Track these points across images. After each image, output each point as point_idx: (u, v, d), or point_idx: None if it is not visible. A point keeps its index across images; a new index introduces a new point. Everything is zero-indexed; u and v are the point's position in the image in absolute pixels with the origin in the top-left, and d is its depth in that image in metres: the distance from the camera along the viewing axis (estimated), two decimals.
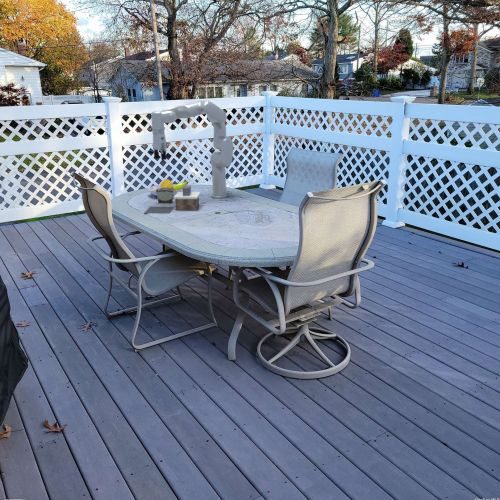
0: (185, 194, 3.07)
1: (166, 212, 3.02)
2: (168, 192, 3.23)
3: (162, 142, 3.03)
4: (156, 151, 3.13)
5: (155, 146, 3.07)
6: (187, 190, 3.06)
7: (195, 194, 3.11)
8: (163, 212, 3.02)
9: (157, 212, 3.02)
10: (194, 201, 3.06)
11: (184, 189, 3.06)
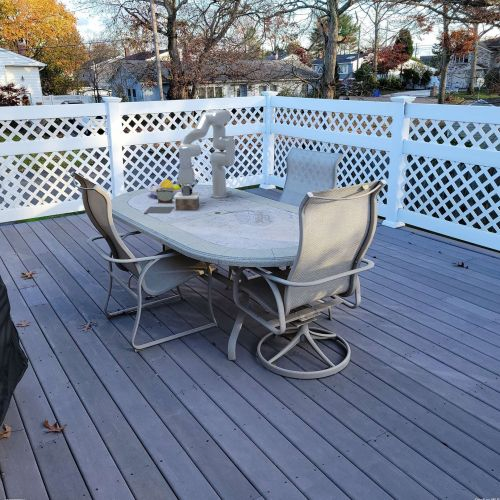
0: (185, 194, 3.07)
1: (166, 212, 3.02)
2: (168, 192, 3.23)
3: (194, 177, 3.07)
4: None
5: (184, 181, 3.06)
6: (187, 190, 3.06)
7: (195, 194, 3.11)
8: (163, 212, 3.02)
9: (157, 212, 3.02)
10: (194, 201, 3.06)
11: (184, 189, 3.06)
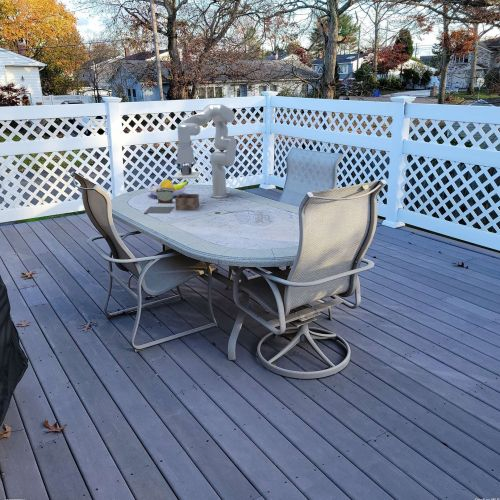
0: (185, 174, 3.03)
1: (166, 212, 3.02)
2: (168, 192, 3.23)
3: (193, 156, 3.03)
4: (182, 166, 3.06)
5: (183, 160, 3.02)
6: (186, 169, 3.02)
7: (194, 174, 3.07)
8: (163, 212, 3.02)
9: (157, 212, 3.02)
10: (194, 201, 3.06)
11: (183, 168, 3.02)
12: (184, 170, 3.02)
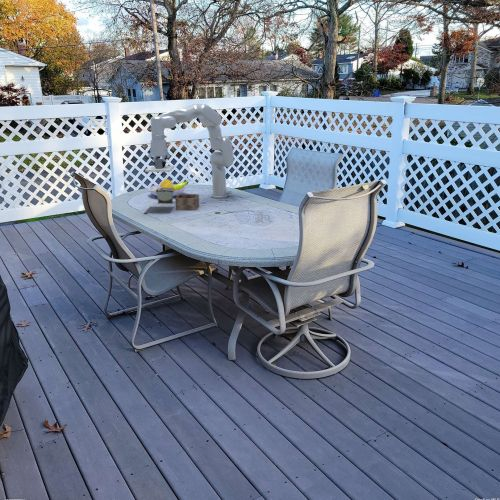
0: (158, 167, 2.96)
1: (166, 212, 3.02)
2: (168, 192, 3.23)
3: (166, 149, 2.96)
4: None
5: (156, 153, 2.95)
6: (160, 163, 2.95)
7: (168, 167, 3.00)
8: (163, 212, 3.02)
9: (157, 212, 3.02)
10: (194, 201, 3.06)
11: (156, 162, 2.95)
12: (157, 163, 2.95)
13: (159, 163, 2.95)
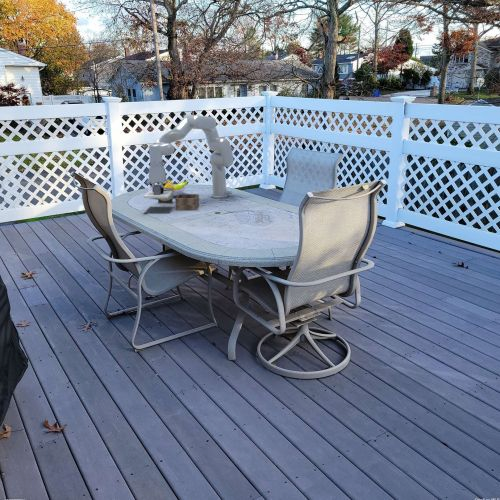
0: (156, 193, 3.01)
1: (166, 212, 3.02)
2: None
3: (165, 175, 3.01)
4: None
5: (154, 179, 3.00)
6: (158, 189, 3.00)
7: (166, 193, 3.05)
8: (163, 212, 3.02)
9: (157, 212, 3.02)
10: (194, 201, 3.06)
11: (155, 188, 3.00)
12: (155, 189, 3.00)
13: (157, 189, 3.00)
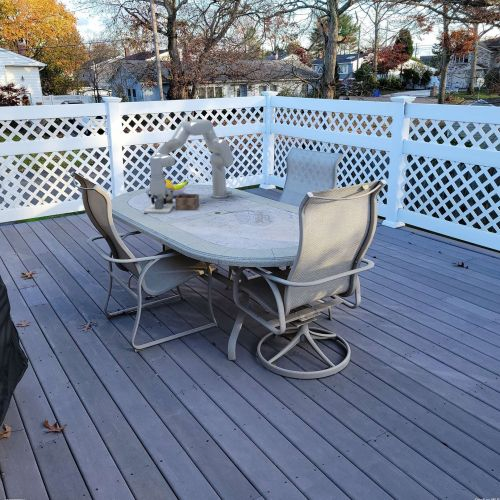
0: (157, 208, 3.04)
1: None
2: None
3: (165, 186, 3.03)
4: (153, 197, 3.06)
5: (155, 191, 3.02)
6: (159, 204, 3.03)
7: (168, 207, 3.08)
8: None
9: None
10: (194, 201, 3.06)
11: (156, 203, 3.03)
12: (157, 204, 3.03)
13: (158, 204, 3.03)
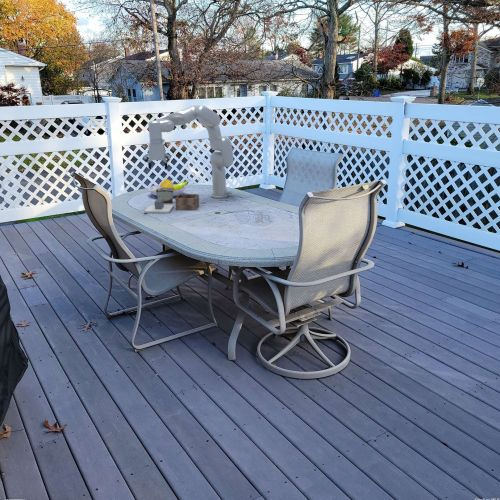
0: (157, 208, 3.04)
1: None
2: (168, 192, 3.23)
3: (164, 151, 2.97)
4: (150, 162, 3.00)
5: (154, 157, 2.96)
6: (159, 204, 3.03)
7: (168, 207, 3.08)
8: None
9: None
10: (194, 201, 3.06)
11: (156, 203, 3.03)
12: (157, 204, 3.03)
13: (158, 204, 3.03)
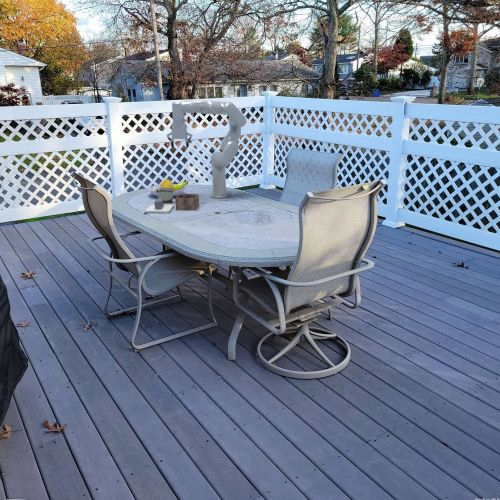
0: (157, 208, 3.04)
1: None
2: (168, 192, 3.23)
3: (186, 131, 3.18)
4: (172, 141, 3.21)
5: (177, 136, 3.18)
6: (159, 204, 3.03)
7: (168, 207, 3.08)
8: None
9: None
10: (194, 201, 3.06)
11: (156, 203, 3.03)
12: (157, 204, 3.03)
13: (158, 204, 3.03)
